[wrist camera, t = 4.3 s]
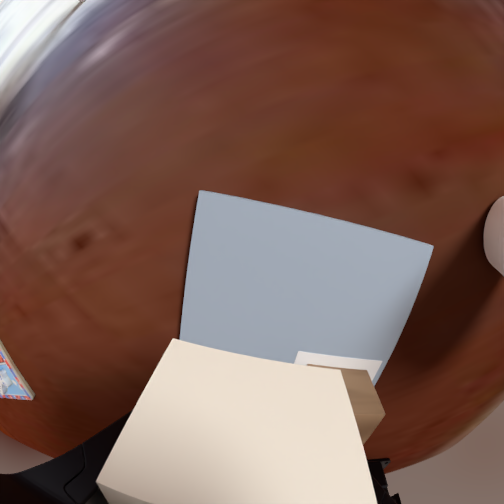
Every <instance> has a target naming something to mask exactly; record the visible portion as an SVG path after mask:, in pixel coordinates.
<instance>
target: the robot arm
mask: <svg viewBox="0 0 504 504" xmlns="http://www.w3.org/2000/svg"><path fill="white" fill-rule="evenodd" d="M132 411H133V410H132ZM132 411H130V412H129V413H127V414H126V415H124V416H123V417H121V418H120V419H118V420H117V421H115V422H114V423H112V424H111V425H109V426H108V427H106V428H105V429H103V430H102V431H100V432H99V433H97V434H96V435H94V436H93V437H91V438H90V439H88V440H86V441H85V442H83V443H82V444H80V445H78V446H77V447H75V448H73V449H72V450H70V451H68V452H66V453H65V454H63V455H61V456H59V457H57V458H55V459H52V460H50V461H48V462H45V463H43V464H40V465H38V466H35V467H33V468H30V469H27V470H25V471H22V472H19V473H14V474H0V504H109V503H108V501H107V500H106V498H105V497H104V495H103V493H102V491H101V490H100V488H99V486H98V484H97V483H96V480H97V478H98V476H99V474H100V472H101V470H102V468H103V466H104V464H105V462H106V460H107V459H108V457H109V455H110V453H111V451H112V449H113V447H114V445H115V443H116V441H117V439H118V437H119V436H120V434H121V432H122V430H123V428H124V426H125V424H126V422H127V420H128V419H129V417H130V415H131V413H132ZM367 463H368V467H369V471H370V475H371V479H372V483H373V487H374V492H375V496H376V500H377V504H401V501H400V497H399V494H398V493H397V494H395V495H394V496H391V497H390V495H389V492H388V489H387V486H388V484H387V481H386V477H385V474H384V470H383V469H384V468H385V467H386V466H387V465H388V464H389V463H390V459H389V458H387V459H377V460H367Z"/></svg>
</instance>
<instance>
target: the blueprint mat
mask: <svg viewBox="0 0 504 504" xmlns="http://www.w3.org/2000/svg"><path fill="white" fill-rule="evenodd" d="M433 247H434V246H432V245H430V244H427V243H423V242H420V241H417V240H413V239H410V238H406V237H403V236H399V235H396V234H392V233H388V232H385V231H381V230H378V229H374V228H370V227H366V226H362V225H359V224H355V223H351V222H347V221H343V220H339V219H335V218H331V217H327V216H323V215H318V214H314V213H310V212H306V211H301V210H297V209H293V208H288V207H284V206H279V205H274V204H270V203H265V202H260V201H255V200H251V199H246V198H241V197H236V196H230V195H225V194H220V193H215V192H209V191H204V190H200V191H199V196H198V201H197V207H196V213H195V220H194V226H193V233H192V239H191V246H190V253H189V260H188V268H187V276H186V284H185V292H184V301H183V310H182V320H181V330H180V340H181V341H185V342H189V343H193V344H197V345H201V346H205V347H210V348H214V349H218V350H223V351H227V352H232V353H237V354H242V355H247V356H252V357H257V358H262V359H268V360H274V361H280V362H286V363H292V364H299V365H306V366H307V364H313V365H321V366H329V367H338V368H348V369H359V370H367V371H368V374H369V376H370V378H371V381H372V383H373V385H374V386H375V384H376V382H377V380H378V379H379V377H380V375H381V373H382V371H383V369H384V367H385V365H386V363H387V362H388V360H389V358H390V356H391V354H392V352H393V349H394V347H395V345H396V343H397V341H398V339H399V337H400V335H401V332H402V330H403V328H404V326H405V323H406V321H407V319H408V316H409V314H410V312H411V309H412V307H413V304H414V302H415V299H416V297H417V294H418V291H419V289H420V286H421V283H422V281H423V278H424V275H425V272H426V269H427V266H428V263H429V260H430V257H431V254H432V250H433Z"/></svg>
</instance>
